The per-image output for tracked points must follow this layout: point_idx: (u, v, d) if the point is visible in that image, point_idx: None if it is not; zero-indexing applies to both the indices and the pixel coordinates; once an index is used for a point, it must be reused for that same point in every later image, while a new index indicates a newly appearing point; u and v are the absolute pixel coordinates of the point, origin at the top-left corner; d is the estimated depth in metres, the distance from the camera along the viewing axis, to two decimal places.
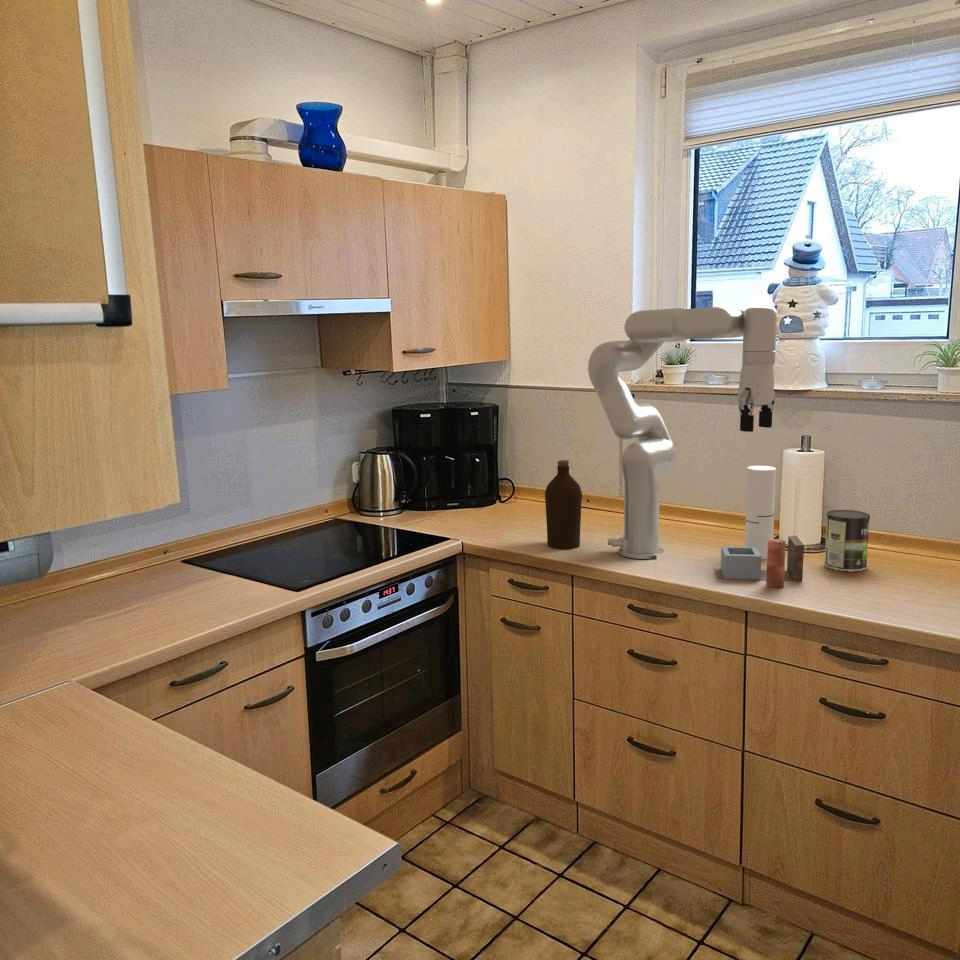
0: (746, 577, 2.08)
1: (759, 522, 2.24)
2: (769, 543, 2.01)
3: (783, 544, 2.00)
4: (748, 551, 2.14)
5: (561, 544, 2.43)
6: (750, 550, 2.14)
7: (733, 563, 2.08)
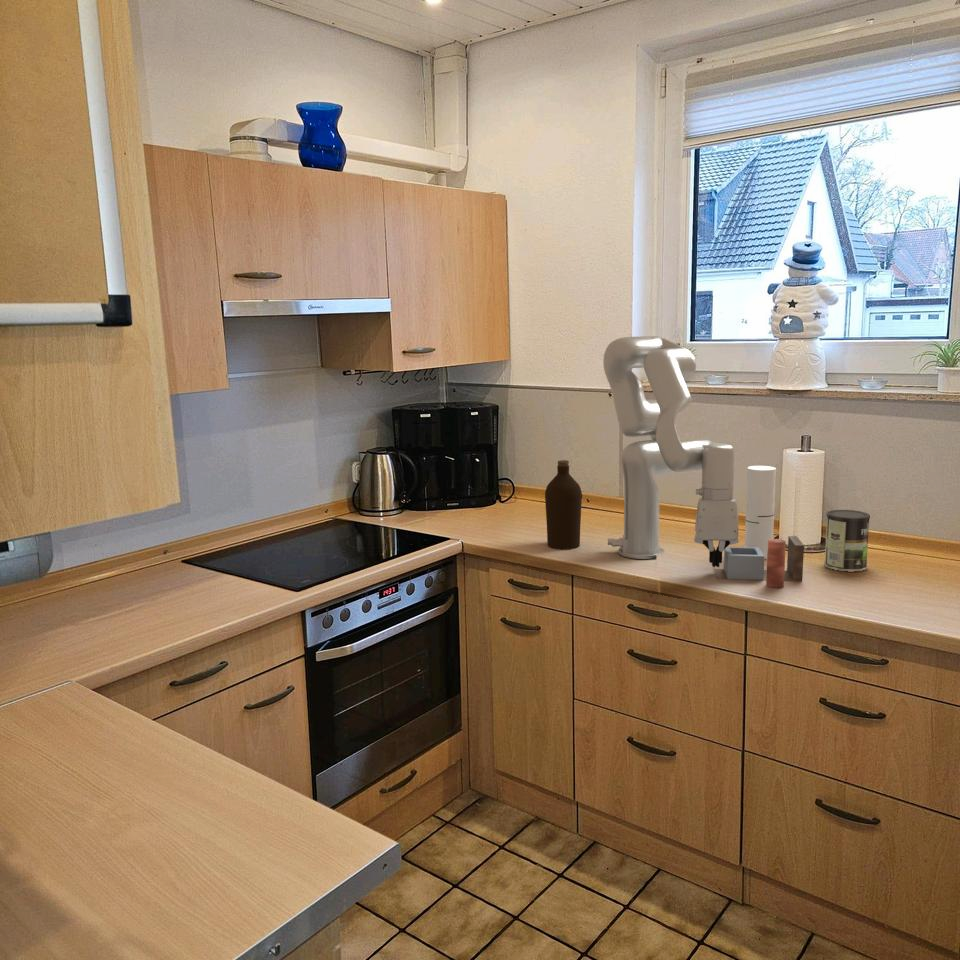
0: (749, 577, 2.08)
1: (759, 522, 2.24)
2: (769, 543, 2.01)
3: (783, 544, 1.99)
4: (751, 551, 2.14)
5: (561, 544, 2.43)
6: (753, 550, 2.14)
7: (736, 563, 2.08)
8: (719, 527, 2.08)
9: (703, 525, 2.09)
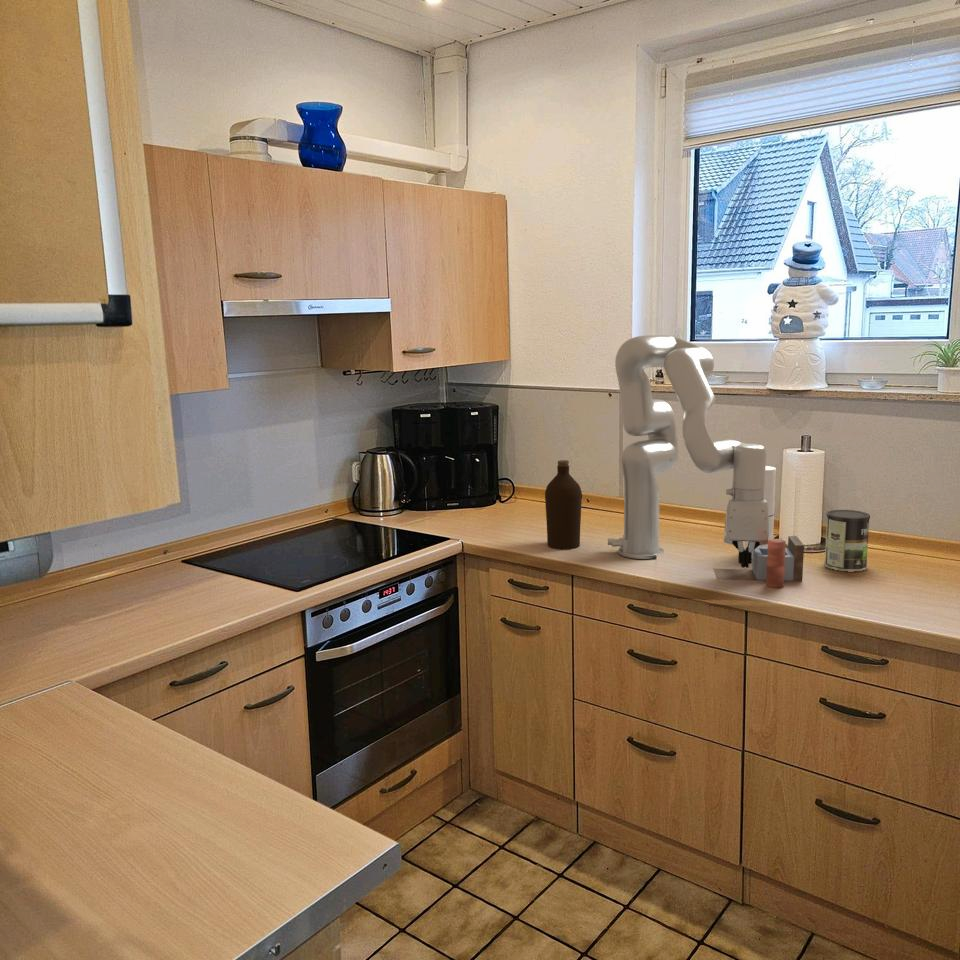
0: None
1: None
2: (769, 543, 2.01)
3: (783, 544, 2.00)
4: None
5: (561, 544, 2.43)
6: None
7: (766, 564, 2.07)
8: (749, 528, 2.07)
9: (733, 526, 2.08)
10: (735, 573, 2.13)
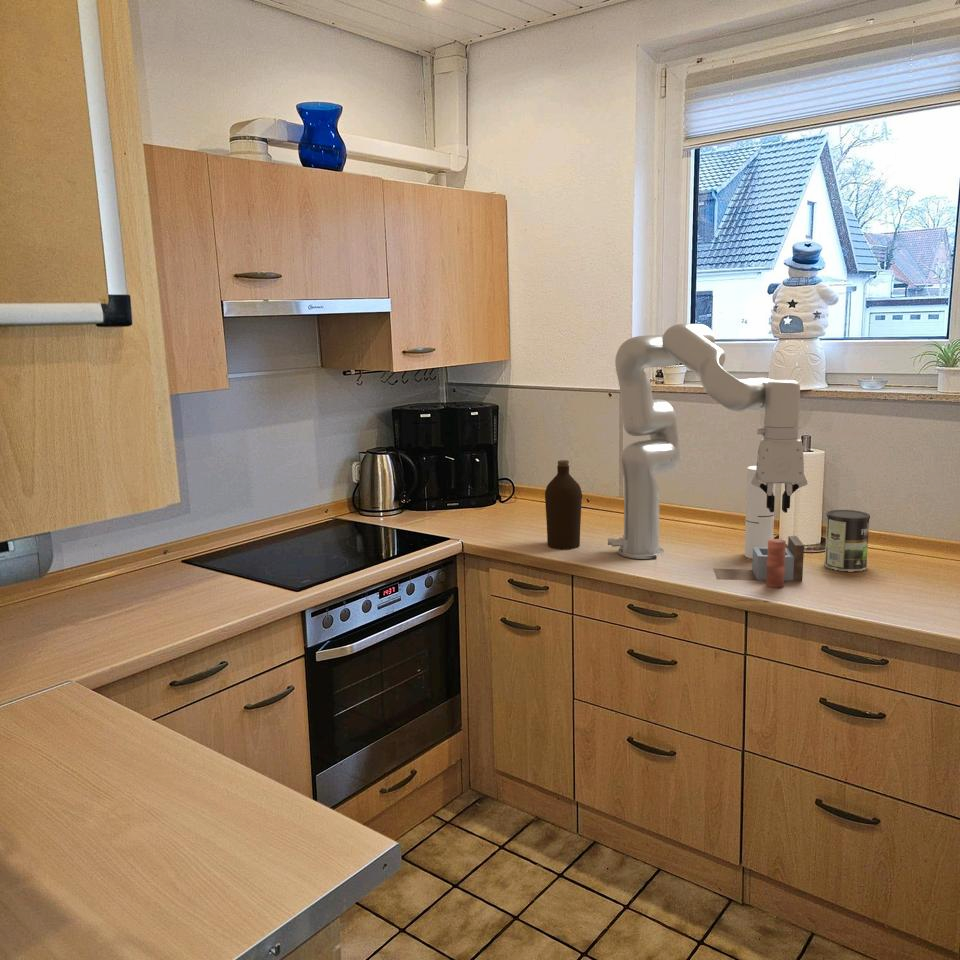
0: None
1: (759, 522, 2.24)
2: (769, 543, 2.01)
3: (783, 544, 1.99)
4: None
5: (561, 544, 2.43)
6: None
7: (766, 564, 2.07)
8: (783, 469, 1.95)
9: (766, 467, 1.96)
10: (735, 573, 2.13)
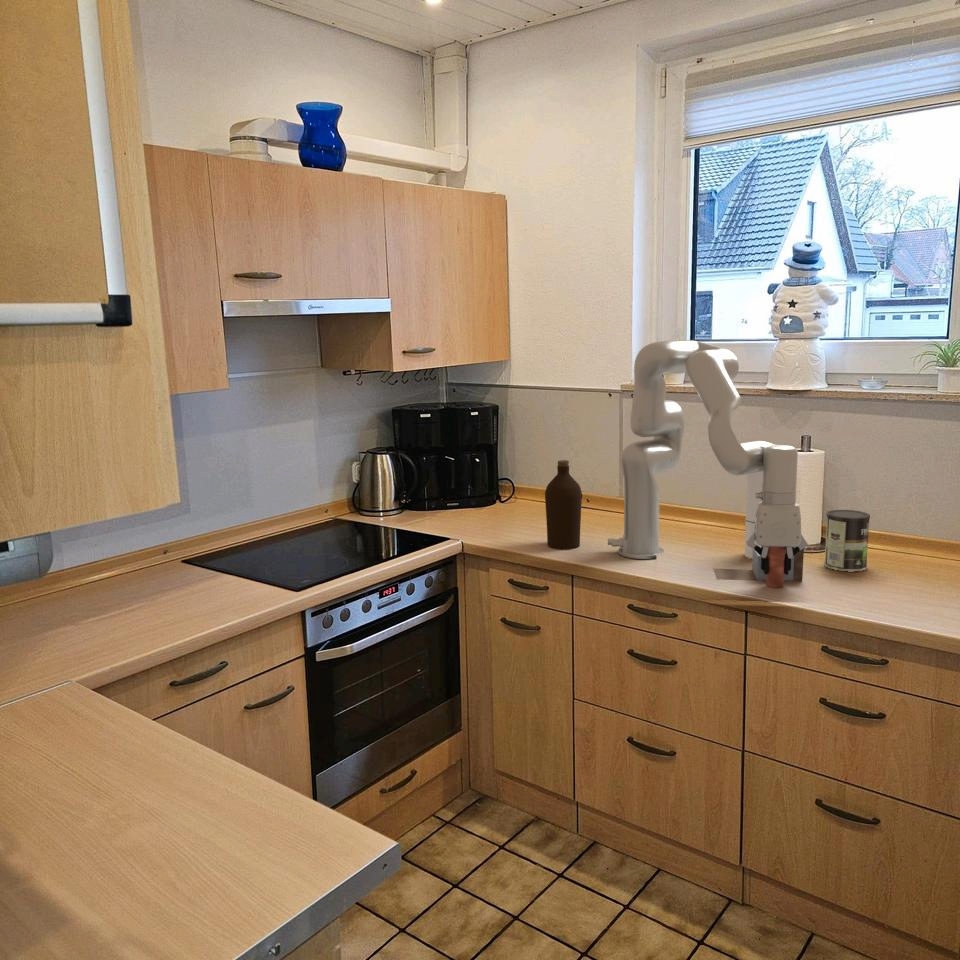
0: None
1: None
2: None
3: None
4: None
5: (561, 544, 2.43)
6: None
7: None
8: (781, 533, 1.98)
9: (764, 531, 1.99)
10: (735, 573, 2.13)
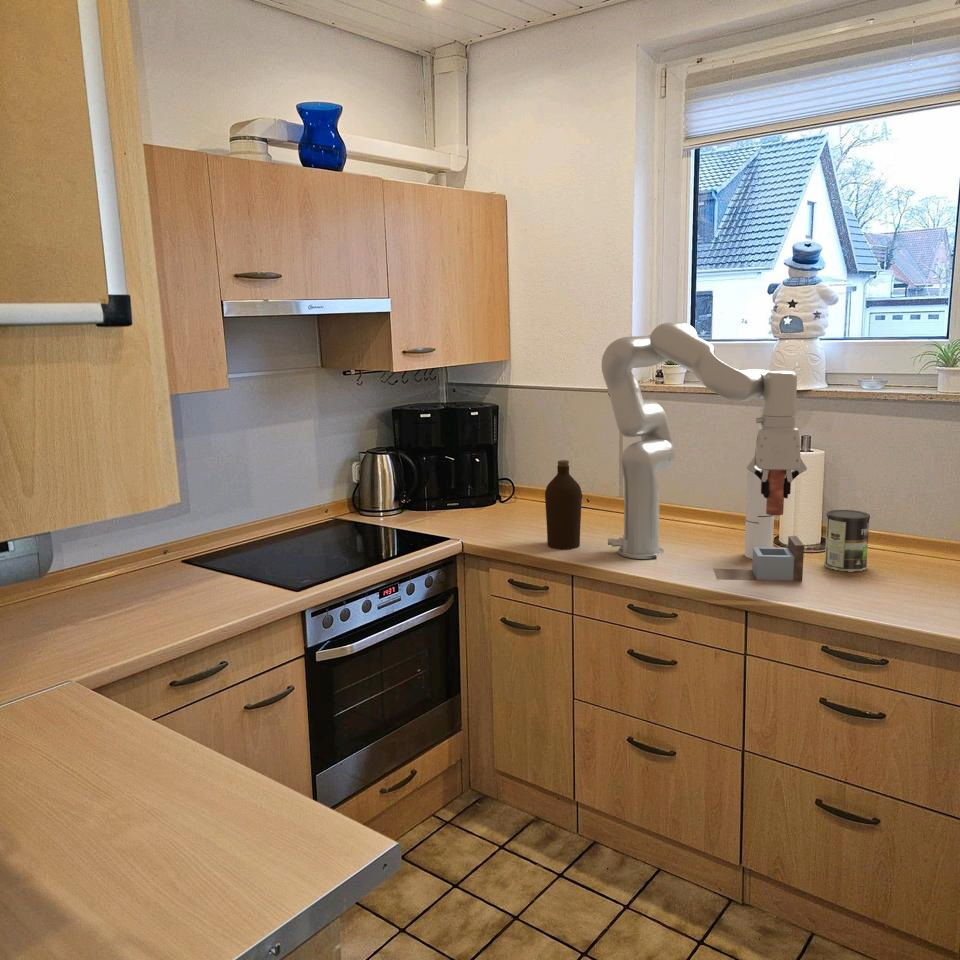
0: (779, 578, 2.07)
1: (759, 522, 2.24)
2: None
3: None
4: (780, 552, 2.13)
5: (561, 544, 2.43)
6: (782, 551, 2.13)
7: (766, 564, 2.07)
8: (781, 456, 2.03)
9: (764, 454, 2.04)
10: (735, 573, 2.13)
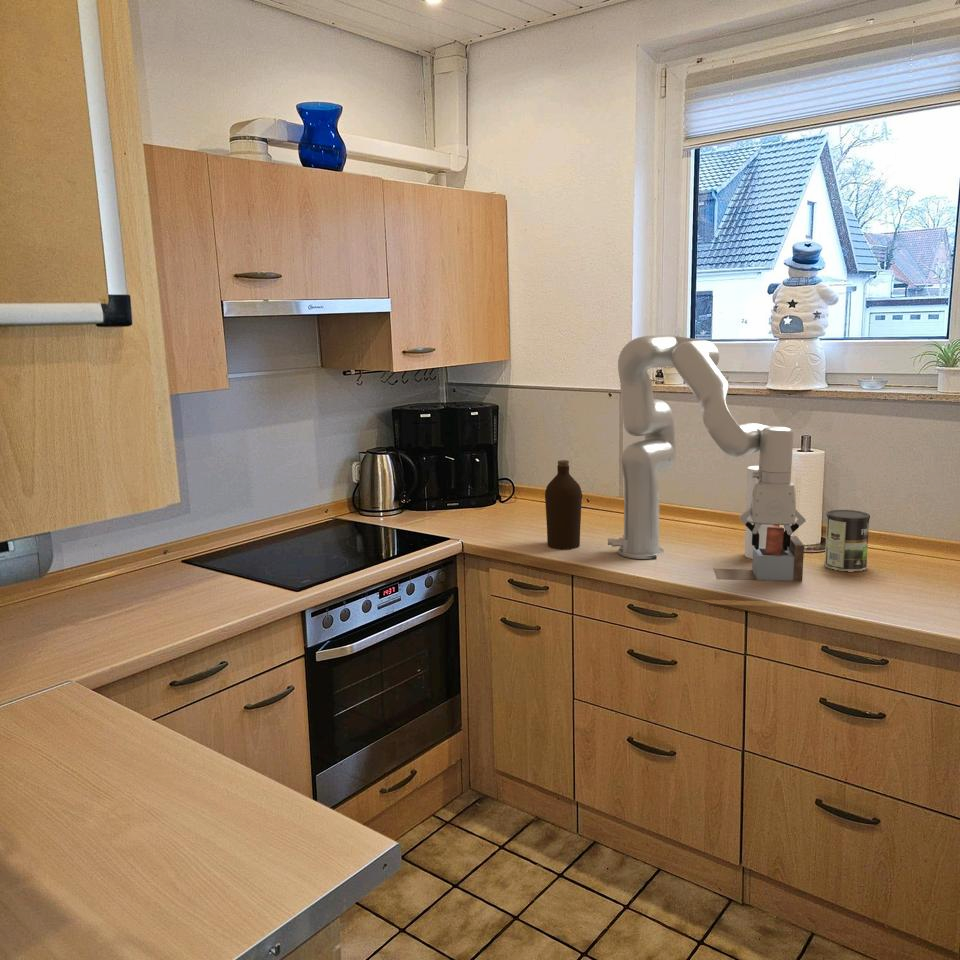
0: (779, 578, 2.07)
1: None
2: (768, 530, 2.08)
3: (782, 531, 2.07)
4: None
5: (561, 544, 2.43)
6: (782, 551, 2.13)
7: (766, 564, 2.07)
8: (776, 511, 2.05)
9: (760, 509, 2.06)
10: (735, 573, 2.13)
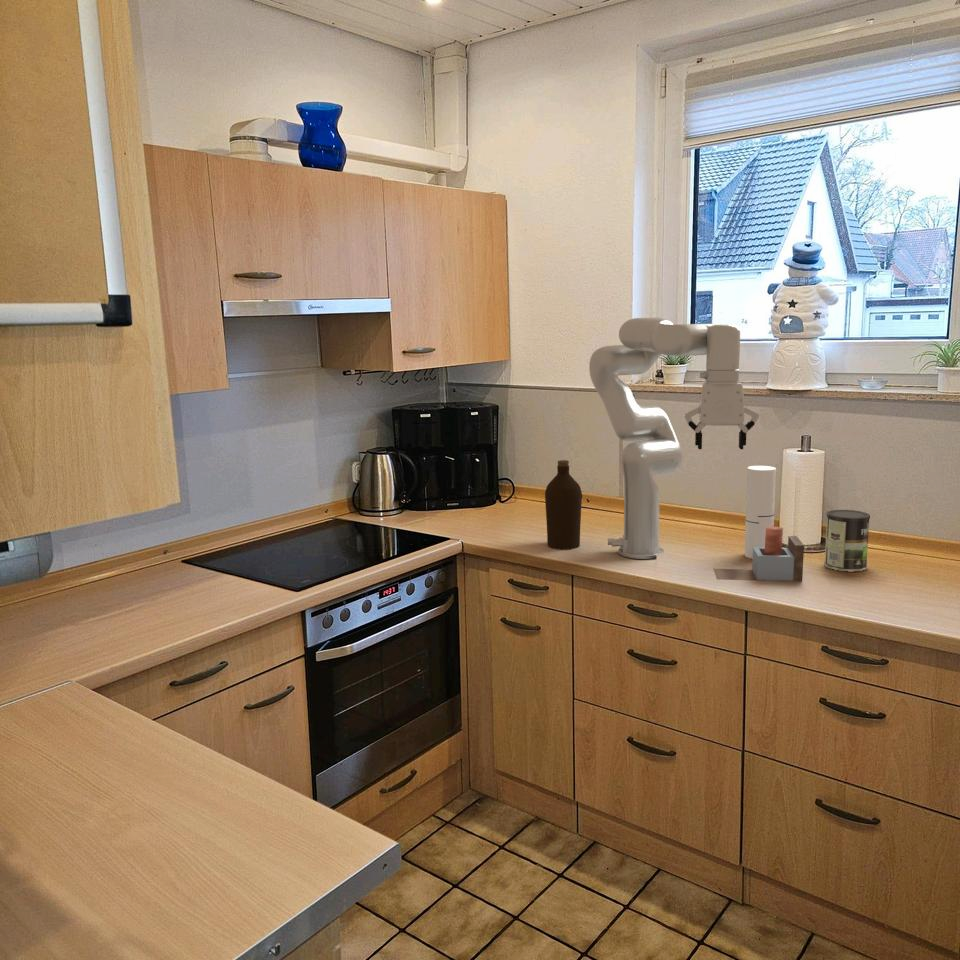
0: (779, 578, 2.07)
1: (759, 522, 2.24)
2: (767, 530, 2.09)
3: (780, 531, 2.07)
4: None
5: (561, 544, 2.43)
6: (782, 551, 2.13)
7: (766, 564, 2.07)
8: (724, 411, 2.00)
9: (708, 409, 2.01)
10: (735, 573, 2.13)
